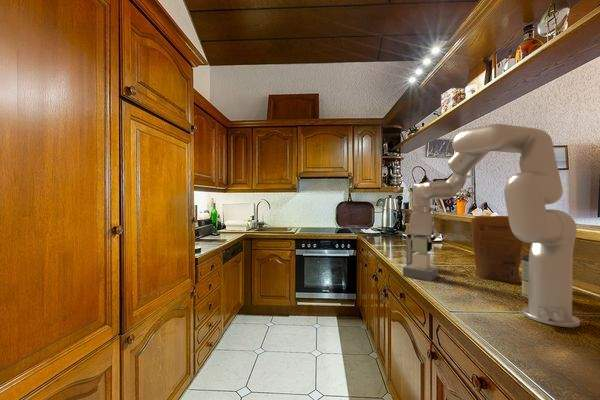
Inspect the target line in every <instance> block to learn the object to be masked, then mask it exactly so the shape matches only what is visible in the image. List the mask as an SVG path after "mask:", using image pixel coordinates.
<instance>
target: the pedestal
mask: <svg viewBox="0 0 600 400" xmlns="http://www.w3.org/2000/svg"><path fill="white" fill-rule="evenodd" d="M402 276H403V277H406V278H410V277H411V279H416V280H417V279H418V280H421V281H426V282H427V281H428V282H433V281H434V280H435V279H436V278H437V277H439V276H440V267H439V266H436V265H435V266H434V265H430V267H429V268H428V269H421V268H414V267H412V263H411V264H409V265H405V266H403V267H402Z"/></svg>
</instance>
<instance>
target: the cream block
mask: <svg viewBox="0 0 600 400" xmlns="http://www.w3.org/2000/svg"><path fill="white" fill-rule="evenodd" d="M430 266H431V253H429V252H427V253H419V252H416V253H413V254H412V267H414V268H421V269H428V268H429V267H430Z"/></svg>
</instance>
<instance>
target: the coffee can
mask: <svg viewBox="0 0 600 400" xmlns="http://www.w3.org/2000/svg"><path fill="white" fill-rule="evenodd" d="M520 259H521V296H522V297H525V298H527V299H528V296H529V254H528V255H521V257H520Z"/></svg>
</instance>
